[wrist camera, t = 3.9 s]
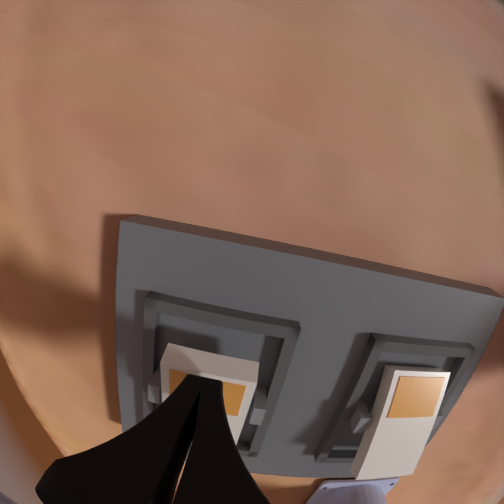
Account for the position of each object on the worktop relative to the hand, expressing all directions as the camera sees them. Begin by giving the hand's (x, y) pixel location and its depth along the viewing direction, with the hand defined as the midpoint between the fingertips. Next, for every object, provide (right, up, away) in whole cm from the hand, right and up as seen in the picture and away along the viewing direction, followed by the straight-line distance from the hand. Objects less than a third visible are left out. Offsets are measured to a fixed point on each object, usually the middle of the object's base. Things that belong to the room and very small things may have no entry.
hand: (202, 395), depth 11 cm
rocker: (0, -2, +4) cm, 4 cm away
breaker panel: (+5, -2, +7) cm, 9 cm away
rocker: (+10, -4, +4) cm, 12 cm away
